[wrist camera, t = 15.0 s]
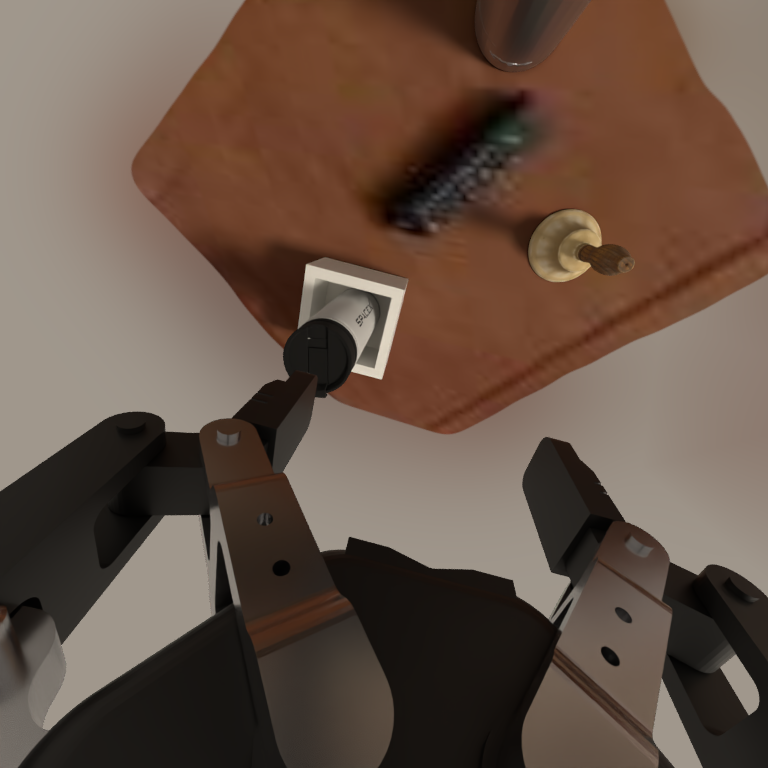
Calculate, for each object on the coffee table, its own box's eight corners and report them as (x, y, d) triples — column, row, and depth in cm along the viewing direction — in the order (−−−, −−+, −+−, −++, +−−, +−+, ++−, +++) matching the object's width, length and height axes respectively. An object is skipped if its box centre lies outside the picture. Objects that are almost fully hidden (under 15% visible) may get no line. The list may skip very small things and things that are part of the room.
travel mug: (335, 333, 51) (282, 395, 33) (335, 285, 48) (277, 324, 30) (379, 337, 50) (350, 402, 32) (381, 288, 47) (351, 330, 29)
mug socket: (322, 256, 48) (303, 263, 40) (408, 279, 47) (404, 290, 40) (310, 336, 52) (291, 355, 45) (388, 357, 52) (381, 379, 45)
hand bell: (592, 281, 45) (668, 312, 31) (523, 282, 46) (565, 311, 32) (608, 208, 42) (702, 203, 27) (533, 209, 43) (586, 206, 28)
